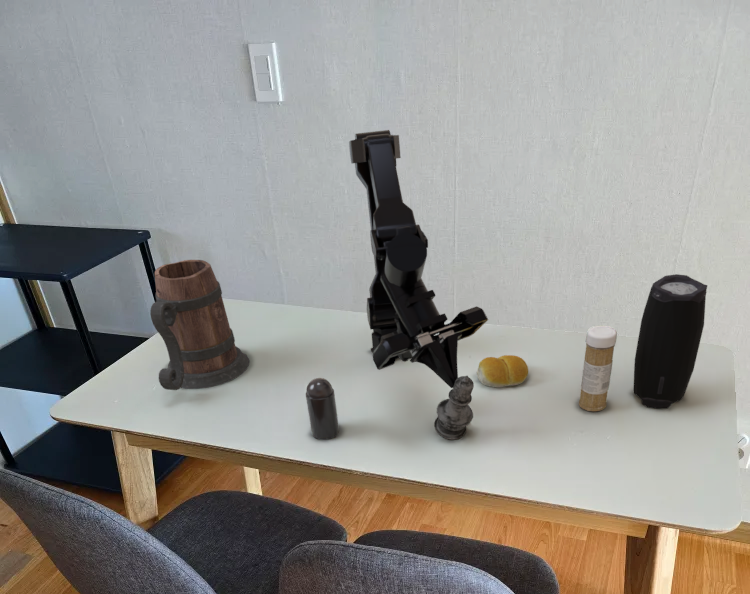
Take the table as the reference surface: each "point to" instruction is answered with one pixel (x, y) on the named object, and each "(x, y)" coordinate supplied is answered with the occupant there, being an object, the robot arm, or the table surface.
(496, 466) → the table surface
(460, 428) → the grey turned piece
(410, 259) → the robot arm
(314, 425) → the pepper pot
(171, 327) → the tankard
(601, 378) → the sprinkles bottle
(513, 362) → the bread roll
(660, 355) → the portable speaker
